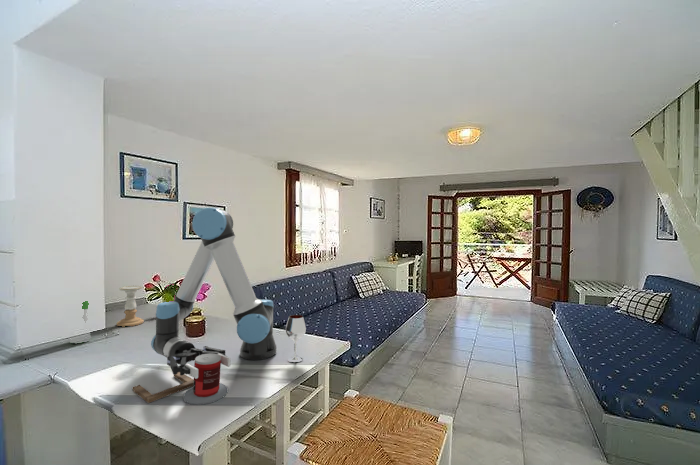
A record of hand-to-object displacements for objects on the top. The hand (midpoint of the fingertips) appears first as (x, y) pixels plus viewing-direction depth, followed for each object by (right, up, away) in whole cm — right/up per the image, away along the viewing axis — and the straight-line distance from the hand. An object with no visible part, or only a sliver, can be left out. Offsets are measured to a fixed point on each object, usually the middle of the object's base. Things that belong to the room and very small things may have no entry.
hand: (214, 367), depth 101 cm
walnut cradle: (-19, -9, +6) cm, 22 cm away
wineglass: (+20, -10, +31) cm, 38 cm away
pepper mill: (-67, -8, +94) cm, 116 cm away
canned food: (-4, -9, +3) cm, 10 cm away
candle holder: (-77, -8, +74) cm, 108 cm away
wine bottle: (-81, -8, +46) cm, 93 cm away
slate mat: (-4, -10, +3) cm, 10 cm away
